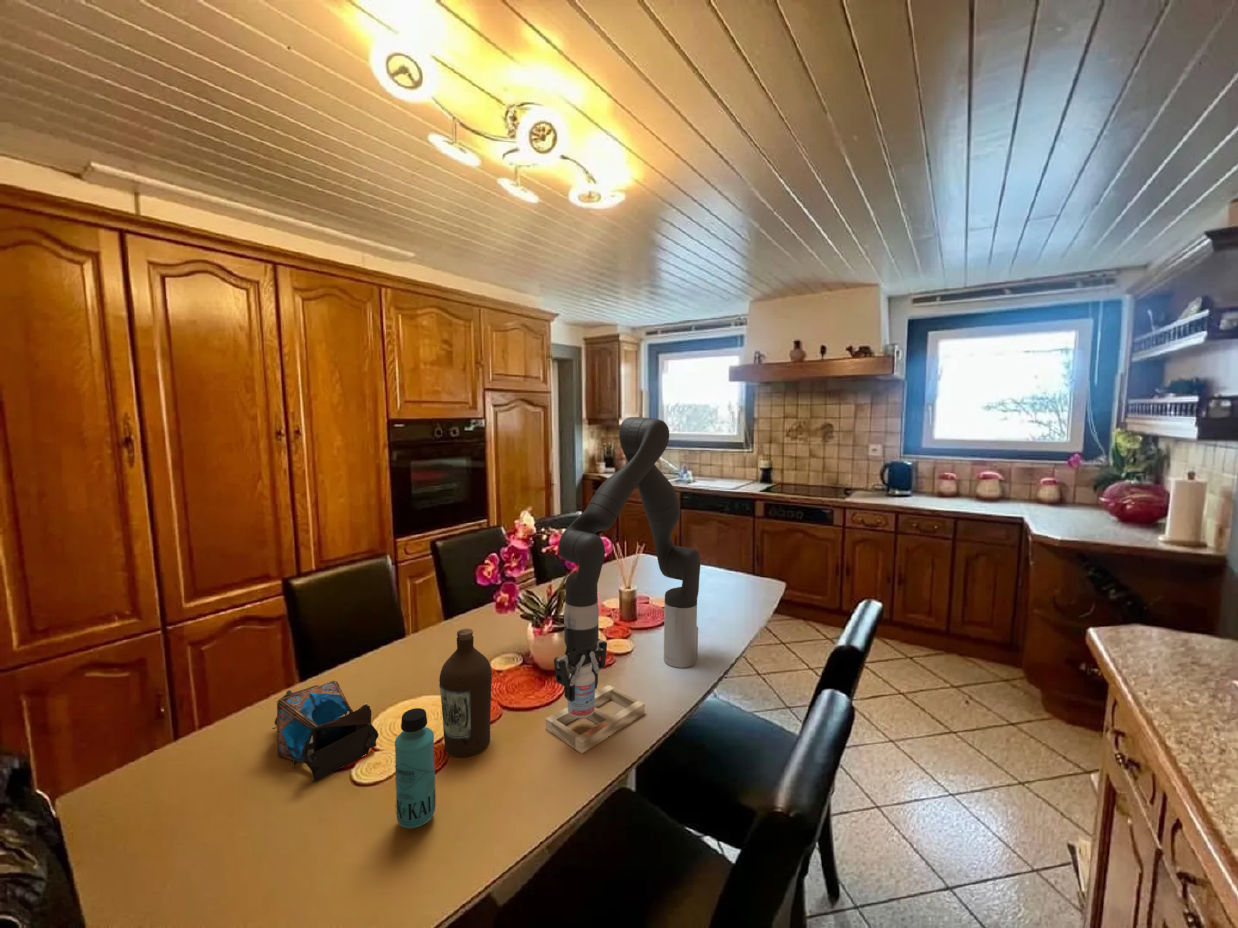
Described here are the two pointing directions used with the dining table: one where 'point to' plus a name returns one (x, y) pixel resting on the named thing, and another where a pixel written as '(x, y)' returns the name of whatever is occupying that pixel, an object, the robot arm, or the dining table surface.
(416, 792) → the beverage bottle
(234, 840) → the dining table surface
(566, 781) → the dining table surface
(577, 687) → the pill bottle
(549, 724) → the plate
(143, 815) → the dining table surface
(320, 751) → the lantern
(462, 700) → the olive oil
